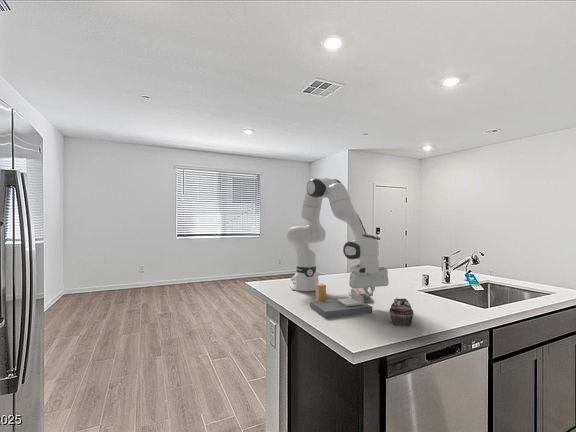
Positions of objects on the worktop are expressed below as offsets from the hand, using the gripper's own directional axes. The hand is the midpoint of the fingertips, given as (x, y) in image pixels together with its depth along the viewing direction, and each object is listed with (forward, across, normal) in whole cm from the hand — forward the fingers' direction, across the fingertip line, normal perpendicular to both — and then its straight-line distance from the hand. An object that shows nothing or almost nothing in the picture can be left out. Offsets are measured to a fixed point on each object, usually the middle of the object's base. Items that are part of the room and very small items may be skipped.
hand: (369, 296), depth 147 cm
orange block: (+6, +20, -12) cm, 24 cm away
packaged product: (+6, -6, -17) cm, 19 cm away
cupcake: (+6, 0, +23) cm, 24 cm away
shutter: (+2, +11, 0) cm, 11 cm away
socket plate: (+6, +16, 0) cm, 16 cm away
